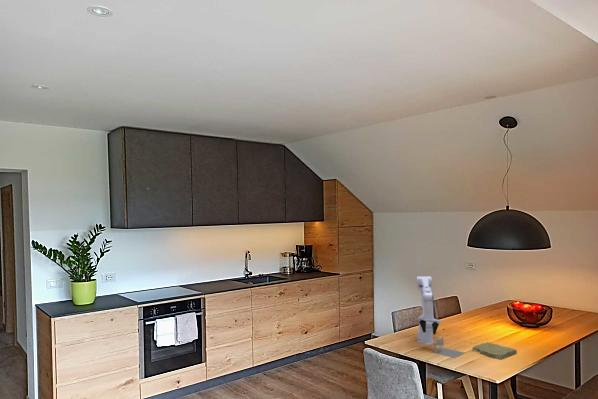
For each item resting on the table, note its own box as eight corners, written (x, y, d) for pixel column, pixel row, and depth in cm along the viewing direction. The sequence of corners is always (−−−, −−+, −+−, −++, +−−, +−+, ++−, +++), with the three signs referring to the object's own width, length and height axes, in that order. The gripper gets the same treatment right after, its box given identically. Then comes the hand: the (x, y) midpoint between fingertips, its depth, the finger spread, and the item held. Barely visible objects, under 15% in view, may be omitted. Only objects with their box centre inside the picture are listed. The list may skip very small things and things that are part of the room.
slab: (434, 352, 277) (434, 339, 277) (440, 349, 282) (439, 336, 282) (438, 352, 275) (437, 339, 275) (443, 350, 280) (443, 337, 280)
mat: (430, 353, 277) (430, 352, 277) (440, 348, 286) (440, 347, 286) (455, 358, 265) (455, 358, 265) (465, 353, 274) (465, 352, 274)
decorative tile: (486, 346, 288) (486, 340, 288) (517, 354, 272) (517, 348, 272) (469, 352, 277) (469, 346, 277) (500, 361, 261) (500, 355, 261)
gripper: (415, 311, 286) (415, 332, 285) (436, 314, 275) (436, 336, 275) (420, 309, 291) (421, 330, 290) (441, 312, 280) (442, 334, 280)
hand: (429, 333), depth 283 cm, fingers open, 6 cm apart
